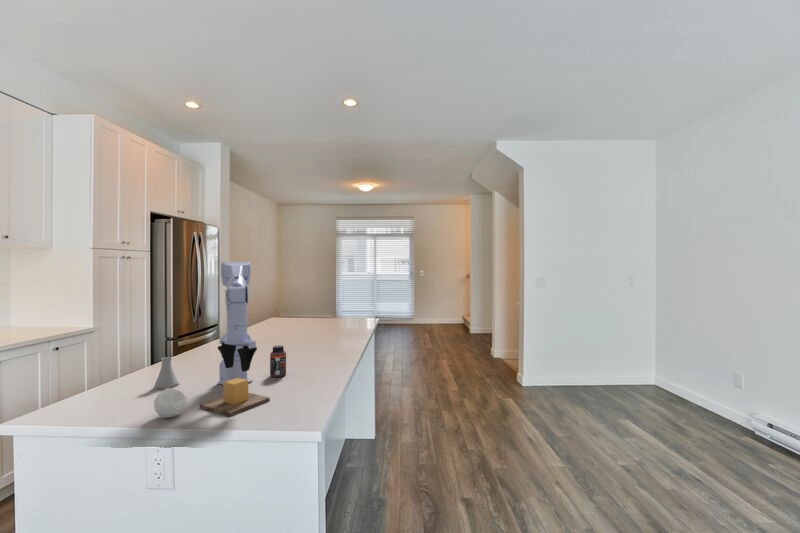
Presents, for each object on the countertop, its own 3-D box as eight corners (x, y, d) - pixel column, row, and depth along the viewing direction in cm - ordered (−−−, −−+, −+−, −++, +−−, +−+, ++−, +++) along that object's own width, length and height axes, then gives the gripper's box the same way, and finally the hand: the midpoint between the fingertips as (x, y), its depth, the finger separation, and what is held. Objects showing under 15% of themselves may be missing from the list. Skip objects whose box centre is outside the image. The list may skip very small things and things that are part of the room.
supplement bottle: (281, 378, 141) (281, 348, 141) (266, 377, 142) (266, 347, 142) (289, 373, 146) (288, 345, 146) (275, 373, 148) (275, 344, 148)
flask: (149, 388, 130) (149, 359, 130) (169, 382, 136) (169, 355, 136) (163, 390, 127) (163, 361, 127) (183, 384, 134) (183, 356, 134)
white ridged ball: (168, 423, 100) (168, 394, 100) (146, 420, 102) (146, 392, 102) (192, 412, 107) (192, 385, 107) (171, 410, 109) (171, 383, 109)
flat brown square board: (199, 407, 111) (199, 392, 111) (240, 393, 123) (239, 380, 123) (230, 416, 104) (230, 400, 104) (269, 400, 116) (269, 386, 116)
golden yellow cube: (223, 401, 113) (223, 382, 113) (237, 396, 117) (237, 377, 117) (234, 404, 110) (234, 384, 111) (248, 399, 115) (248, 380, 115)
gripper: (210, 325, 115) (210, 369, 115) (241, 328, 108) (241, 375, 108) (230, 322, 121) (230, 363, 121) (261, 325, 114) (261, 369, 114)
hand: (237, 369), depth 115 cm, fingers open, 7 cm apart
